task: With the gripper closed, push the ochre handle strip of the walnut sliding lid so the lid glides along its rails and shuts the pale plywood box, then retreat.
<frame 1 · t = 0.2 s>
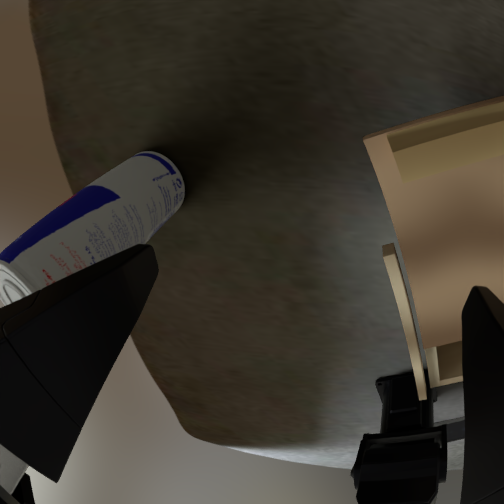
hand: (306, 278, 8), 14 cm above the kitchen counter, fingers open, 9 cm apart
lid: (500, 253, 12), point 8 cm above the kitchen counter, slide at 6.0 cm
smartphone: (457, 425, 34), on the kitchen counter
beverage can: (158, 180, 25), on the kitchen counter
box: (472, 257, 20), on the kitchen counter
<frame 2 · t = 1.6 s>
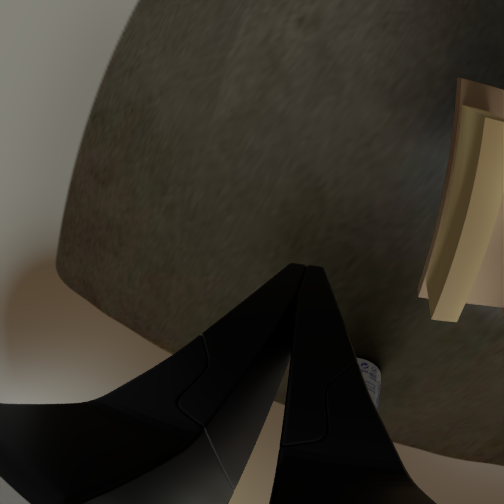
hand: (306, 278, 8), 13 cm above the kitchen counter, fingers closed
beverage can: (353, 369, 29), on the kitchen counter
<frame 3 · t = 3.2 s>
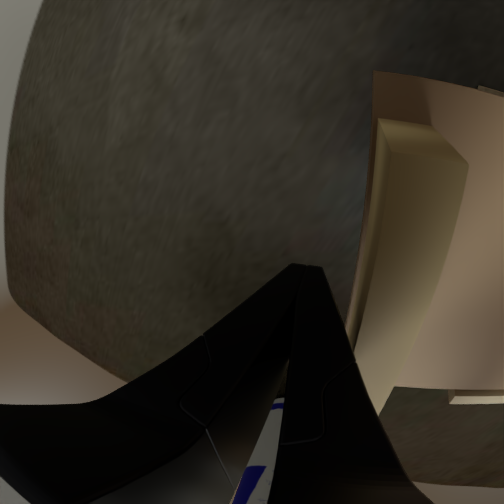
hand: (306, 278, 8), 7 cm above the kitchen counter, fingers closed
beverage can: (298, 407, 26), on the kitchen counter
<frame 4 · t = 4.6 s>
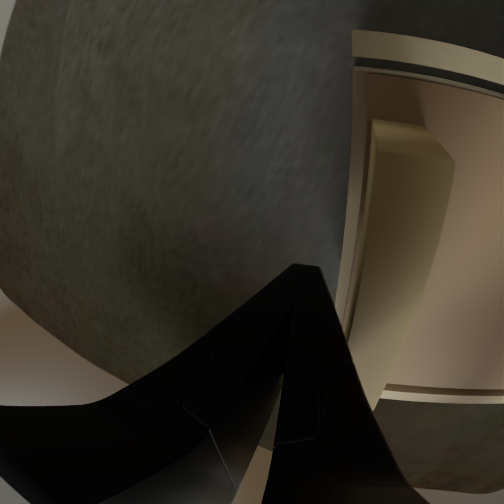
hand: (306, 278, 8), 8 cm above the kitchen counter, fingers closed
box: (489, 198, 12), on the kitchen counter
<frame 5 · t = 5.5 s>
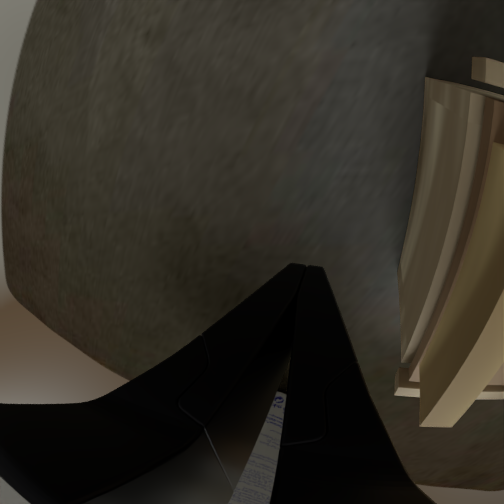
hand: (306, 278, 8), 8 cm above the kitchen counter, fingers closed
beverage can: (274, 400, 27), on the kitchen counter
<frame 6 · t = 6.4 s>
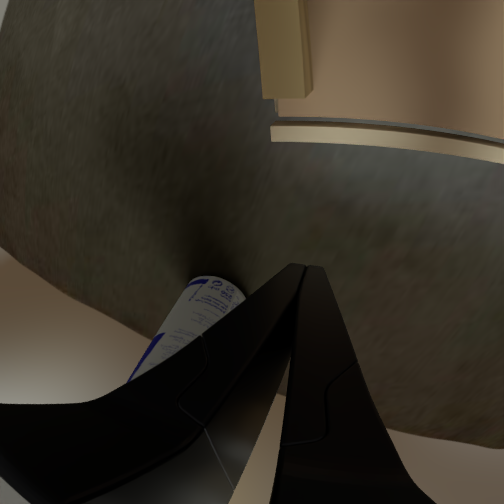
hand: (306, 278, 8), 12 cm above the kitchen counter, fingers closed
beverage can: (219, 296, 28), on the kitchen counter
box: (418, 18, 12), on the kitchen counter
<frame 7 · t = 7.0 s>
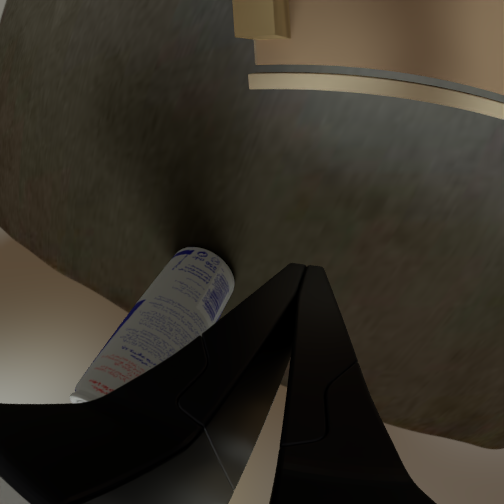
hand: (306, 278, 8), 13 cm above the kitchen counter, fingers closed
beverage can: (205, 270, 27), on the kitchen counter
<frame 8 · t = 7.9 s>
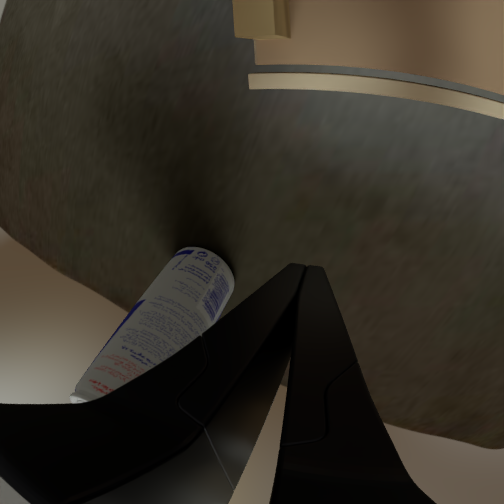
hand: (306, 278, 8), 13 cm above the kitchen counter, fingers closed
beverage can: (205, 270, 27), on the kitchen counter
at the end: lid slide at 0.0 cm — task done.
